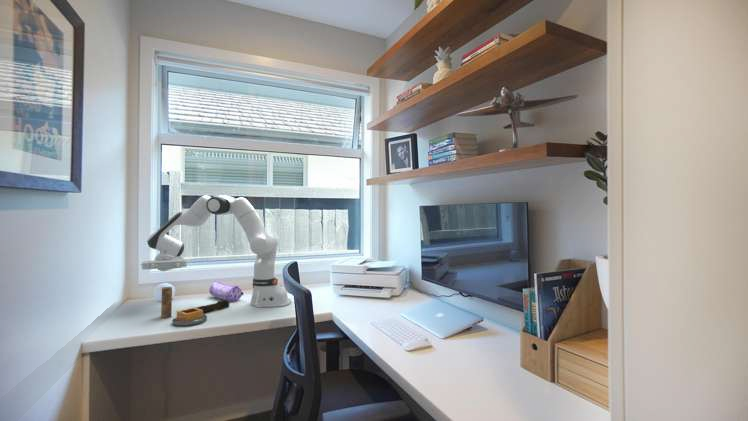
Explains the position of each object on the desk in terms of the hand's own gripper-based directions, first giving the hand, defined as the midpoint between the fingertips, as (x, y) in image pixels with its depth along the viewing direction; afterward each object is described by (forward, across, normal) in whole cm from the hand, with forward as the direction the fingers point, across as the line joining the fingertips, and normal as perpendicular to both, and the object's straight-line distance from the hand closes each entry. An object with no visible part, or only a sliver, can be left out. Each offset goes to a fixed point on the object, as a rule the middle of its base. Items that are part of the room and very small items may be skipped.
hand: (165, 266), depth 168 cm
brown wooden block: (+12, 0, +23) cm, 26 cm away
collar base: (+26, +9, +23) cm, 36 cm away
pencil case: (-8, +31, +23) cm, 39 cm away
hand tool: (+13, +20, +23) cm, 33 cm away
